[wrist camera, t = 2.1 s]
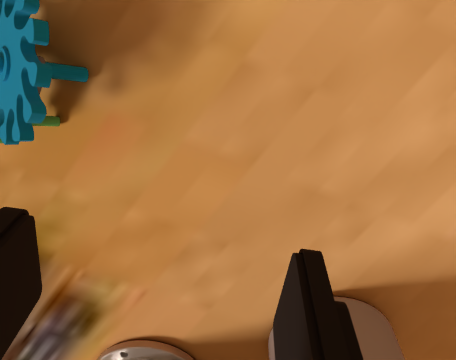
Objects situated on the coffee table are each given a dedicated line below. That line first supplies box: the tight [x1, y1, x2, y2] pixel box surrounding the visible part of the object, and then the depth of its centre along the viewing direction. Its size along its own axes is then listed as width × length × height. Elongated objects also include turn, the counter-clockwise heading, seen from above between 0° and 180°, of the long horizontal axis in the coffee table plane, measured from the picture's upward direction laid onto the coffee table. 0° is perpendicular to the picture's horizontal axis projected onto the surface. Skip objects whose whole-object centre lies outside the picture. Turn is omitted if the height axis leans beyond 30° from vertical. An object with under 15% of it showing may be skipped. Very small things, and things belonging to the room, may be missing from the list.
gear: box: [0, 0, 89, 145], centre depth 26 cm, size 11×6×10 cm
